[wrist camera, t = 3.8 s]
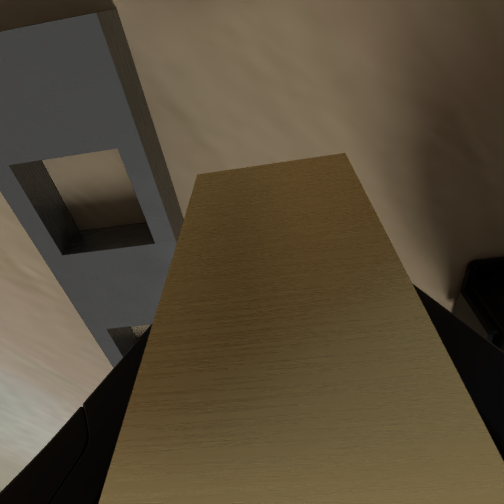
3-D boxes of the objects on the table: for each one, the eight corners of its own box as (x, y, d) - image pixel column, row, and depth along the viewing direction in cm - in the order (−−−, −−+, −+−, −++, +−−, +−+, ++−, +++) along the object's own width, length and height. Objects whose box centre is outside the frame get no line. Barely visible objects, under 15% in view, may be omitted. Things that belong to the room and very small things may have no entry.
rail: (116, 8, 16) (96, 12, 14) (234, 379, 32) (233, 406, 30) (-49, 41, 17) (-91, 49, 15) (149, 387, 33) (142, 413, 31)
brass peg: (345, 152, 10) (527, 507, 3) (345, 268, 12) (449, 605, 5) (197, 174, 10) (91, 527, 4) (226, 281, 12) (194, 609, 6)
